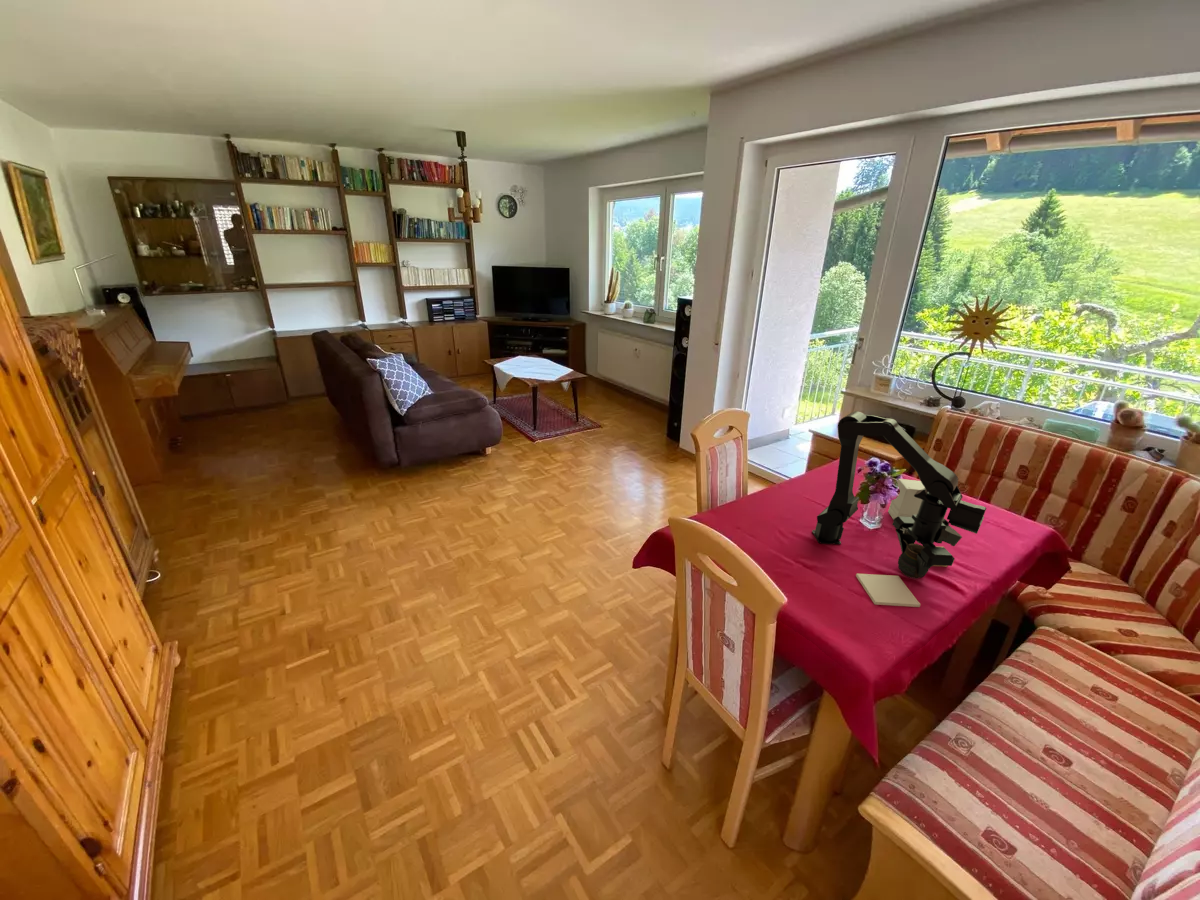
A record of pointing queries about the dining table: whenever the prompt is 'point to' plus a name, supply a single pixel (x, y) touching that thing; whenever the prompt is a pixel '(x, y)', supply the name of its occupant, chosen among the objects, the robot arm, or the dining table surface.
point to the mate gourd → (910, 560)
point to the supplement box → (906, 499)
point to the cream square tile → (887, 590)
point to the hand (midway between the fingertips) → (912, 565)
